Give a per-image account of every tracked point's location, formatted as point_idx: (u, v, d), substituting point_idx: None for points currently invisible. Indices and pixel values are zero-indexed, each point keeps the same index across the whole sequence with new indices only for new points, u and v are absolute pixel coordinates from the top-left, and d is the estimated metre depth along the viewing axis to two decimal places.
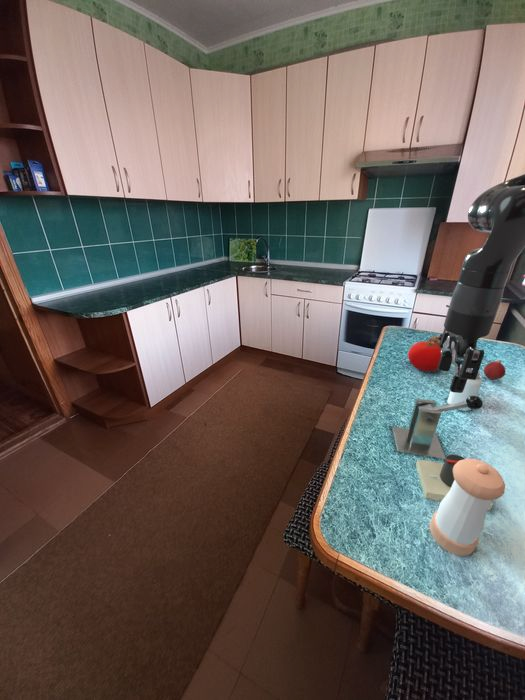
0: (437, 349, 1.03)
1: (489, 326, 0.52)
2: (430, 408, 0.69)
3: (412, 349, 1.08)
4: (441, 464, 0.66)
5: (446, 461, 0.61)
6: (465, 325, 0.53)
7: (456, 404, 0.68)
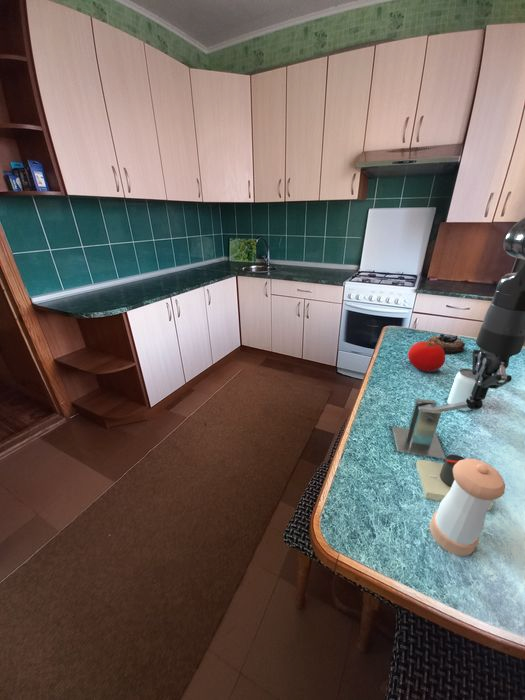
0: (437, 349, 1.03)
1: (521, 345, 0.56)
2: (430, 408, 0.69)
3: (412, 349, 1.08)
4: (441, 464, 0.66)
5: (446, 461, 0.61)
6: (498, 344, 0.57)
7: (456, 404, 0.68)
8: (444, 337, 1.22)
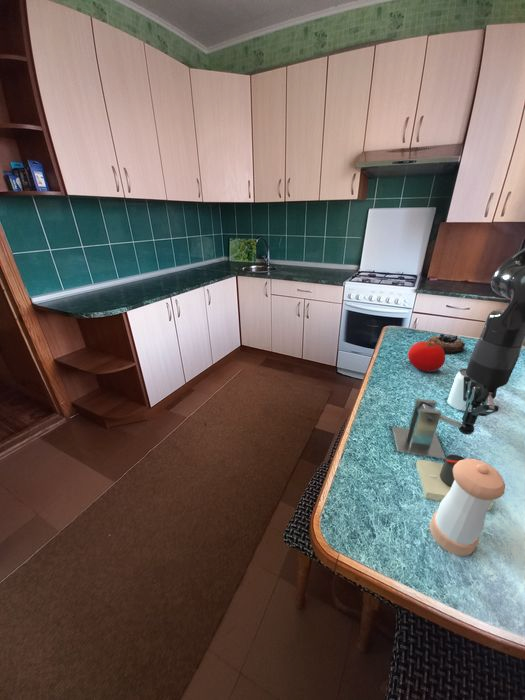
0: (437, 349, 1.03)
1: (507, 377, 0.59)
2: None
3: (412, 349, 1.08)
4: (441, 464, 0.66)
5: (446, 461, 0.61)
6: (486, 376, 0.60)
7: (453, 421, 0.70)
8: (444, 337, 1.22)
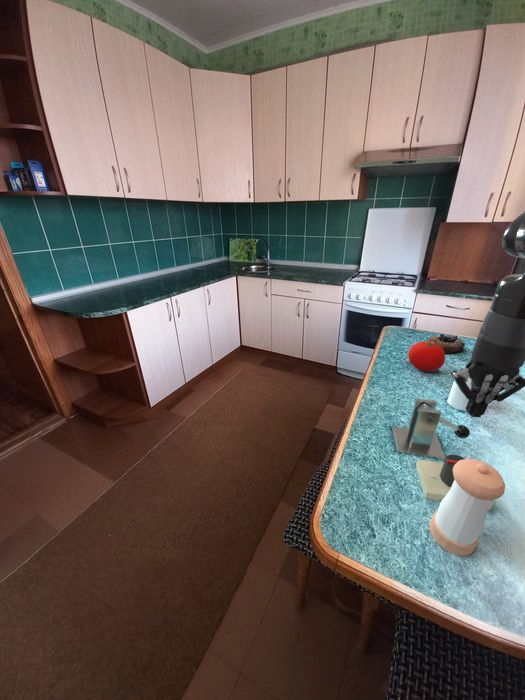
0: (437, 349, 1.03)
1: (489, 353, 0.50)
2: None
3: (412, 349, 1.08)
4: (441, 464, 0.66)
5: (446, 461, 0.61)
6: (475, 344, 0.54)
7: (451, 423, 0.70)
8: (444, 337, 1.22)
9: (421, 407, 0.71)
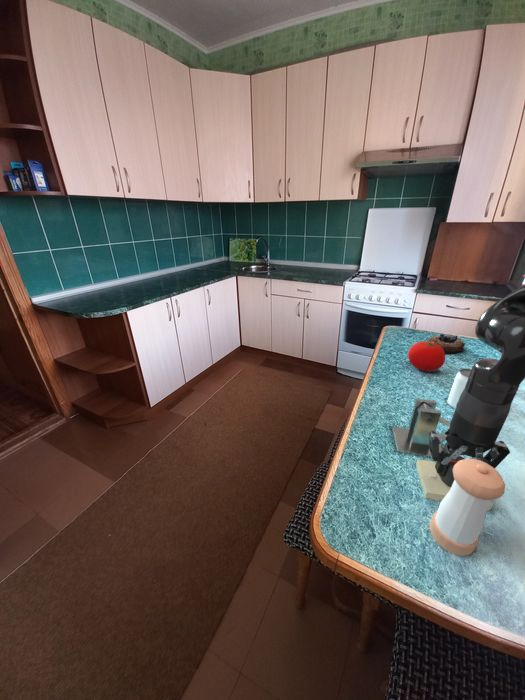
0: (437, 349, 1.03)
1: (462, 428, 0.54)
2: None
3: (412, 349, 1.08)
4: None
5: None
6: (453, 414, 0.58)
7: None
8: (444, 337, 1.22)
9: (421, 407, 0.71)
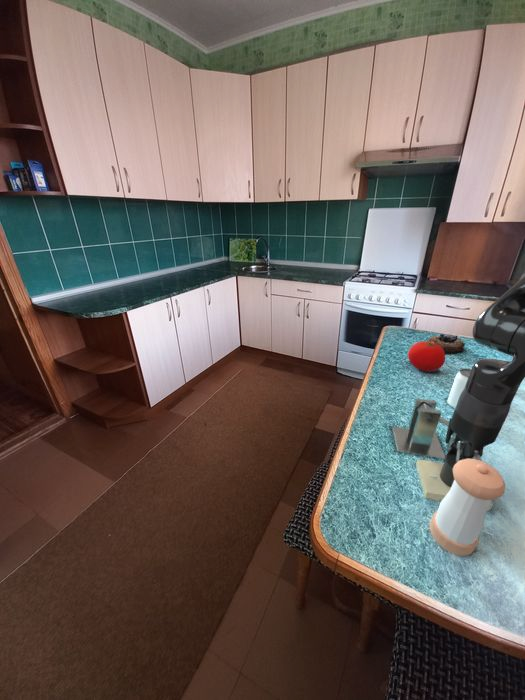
0: (437, 349, 1.03)
1: (495, 435, 0.52)
2: None
3: (412, 349, 1.08)
4: (441, 464, 0.66)
5: None
6: (472, 433, 0.53)
7: None
8: (444, 337, 1.22)
9: (421, 407, 0.71)
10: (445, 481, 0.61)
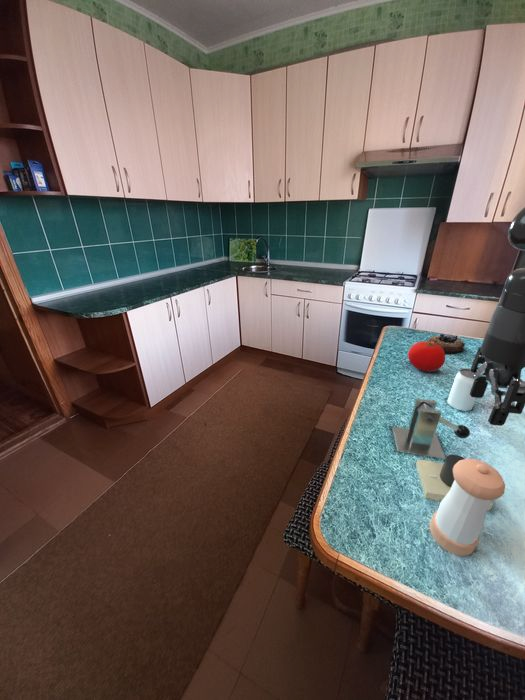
0: (437, 349, 1.03)
1: None
2: None
3: (412, 349, 1.08)
4: (441, 464, 0.66)
5: None
6: (508, 353, 0.47)
7: (451, 423, 0.70)
8: (444, 337, 1.22)
9: (421, 407, 0.71)
10: (445, 481, 0.61)
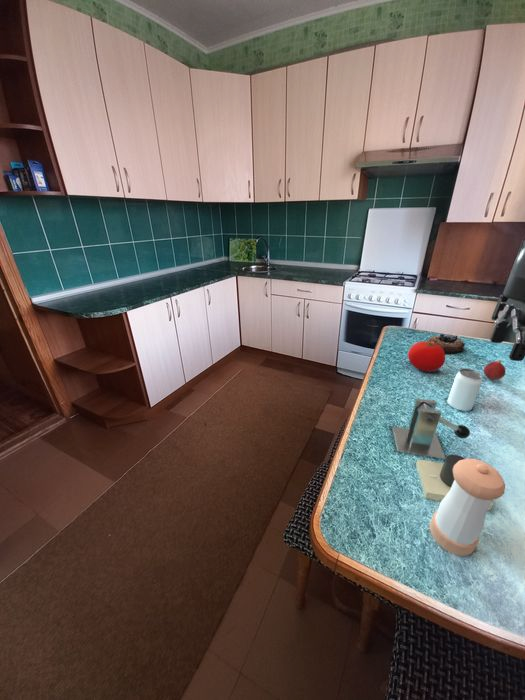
0: (437, 349, 1.03)
1: None
2: None
3: (412, 349, 1.08)
4: (441, 464, 0.66)
5: None
6: None
7: (451, 423, 0.70)
8: (444, 337, 1.22)
9: (421, 407, 0.71)
10: (445, 481, 0.61)
